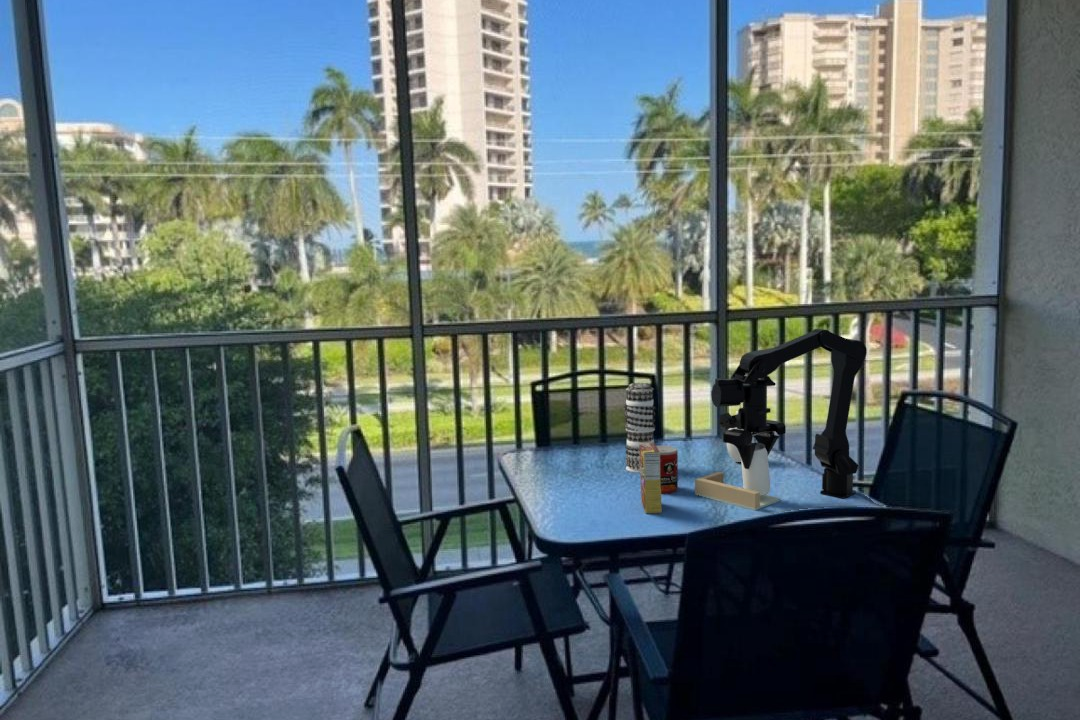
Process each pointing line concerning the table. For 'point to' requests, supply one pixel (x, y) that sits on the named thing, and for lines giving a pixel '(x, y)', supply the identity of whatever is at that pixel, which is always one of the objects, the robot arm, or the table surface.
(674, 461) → the canned food
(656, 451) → the candy box
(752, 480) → the can
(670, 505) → the table surface
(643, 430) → the decorative candle
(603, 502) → the table surface
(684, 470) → the table surface
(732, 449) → the sauce bottle
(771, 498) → the cleat board
